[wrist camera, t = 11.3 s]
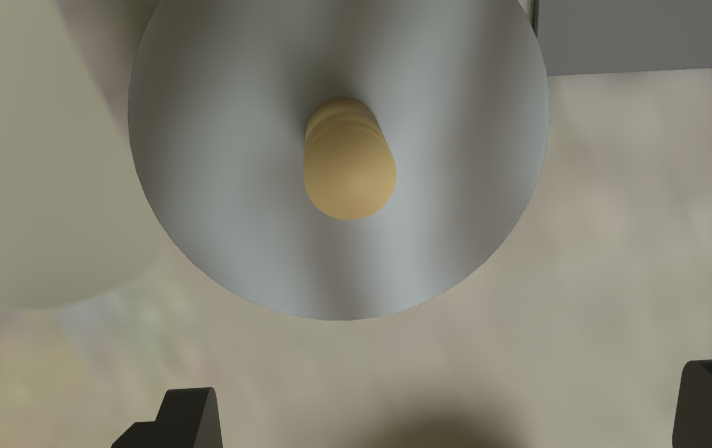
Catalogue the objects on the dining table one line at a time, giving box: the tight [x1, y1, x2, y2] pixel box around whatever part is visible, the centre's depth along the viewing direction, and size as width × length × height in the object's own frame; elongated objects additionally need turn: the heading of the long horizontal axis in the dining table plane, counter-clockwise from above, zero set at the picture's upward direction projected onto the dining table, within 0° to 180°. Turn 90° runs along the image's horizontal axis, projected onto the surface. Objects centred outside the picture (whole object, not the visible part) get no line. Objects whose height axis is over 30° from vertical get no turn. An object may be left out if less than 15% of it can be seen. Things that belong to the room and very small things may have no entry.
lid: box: [128, 0, 550, 320], centre depth 25 cm, size 17×17×7 cm
